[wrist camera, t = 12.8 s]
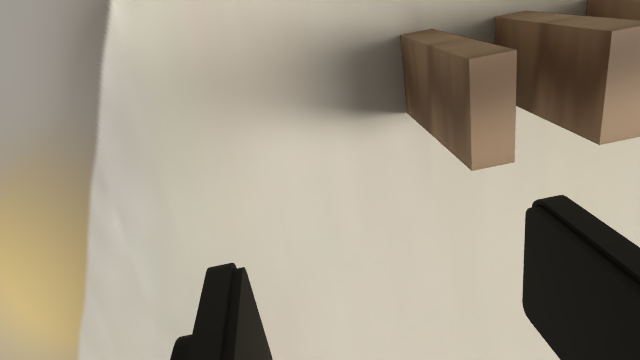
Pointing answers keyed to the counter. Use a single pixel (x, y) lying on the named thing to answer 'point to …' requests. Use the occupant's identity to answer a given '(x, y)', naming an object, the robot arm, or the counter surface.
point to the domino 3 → (614, 9)
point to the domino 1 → (462, 94)
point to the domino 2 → (577, 71)
